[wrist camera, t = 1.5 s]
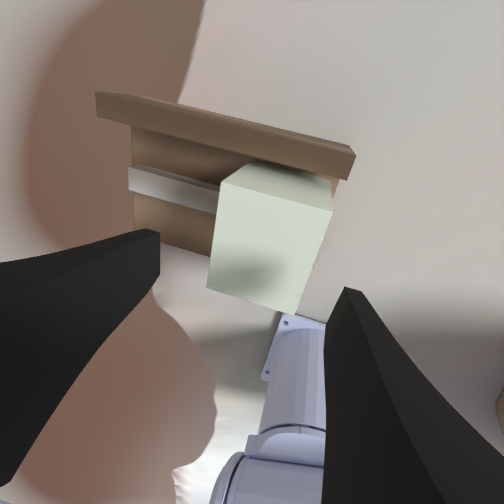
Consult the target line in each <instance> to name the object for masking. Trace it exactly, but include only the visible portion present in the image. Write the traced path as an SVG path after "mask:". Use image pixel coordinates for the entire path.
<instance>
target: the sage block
mask: <svg viewBox="0 0 504 504" xmlns="http://www.w3.org/2000/svg"><path fill="white" fill-rule="evenodd" d="M332 214H333V205H332V194H331V182H330V180H327V179H324V178H320V177H316V176H312V175H308V174H304V173H300V172H297V171H293V170H289V169H285V168H281V167H277V166H273V165H270V164H266V163H262V162H258V161H254V160H252V161H251V162H249V163H248V164H246V165H245V166H243V167H242V168H240V169H239V170H238V171H236V172H235V173H233V174H232V175H230V176H229V177H227V178H226V179H224V180H223V181H222V182H221V186H220V193H219V200H218V208H217V215H216V222H215V229H214V236H213V243H212V250H211V257H210V265H209V272H208V279H207V286H206V288H208V289H212V290H215V291H218V292H221V293H224V294H227V295H230V296H234V297H237V298H240V299H243V300H246V301H249V302H252V303H255V304H259V305H262V306H265V307H268V308H271V309H274V310H277V311H281V312H284V313H287V314H290V315H293V316H294V315H295V312H296V309H297V307H298V304H299V301H300V299H301V296H302V293H303V291H304V288H305V285H306V283H307V280H308V277H309V275H310V272H311V270H312V267H313V264H314V262H315V259H316V256H317V254H318V251H319V248H320V246H321V243H322V240H323V238H324V235H325V232H326V230H327V227H328V225H329V222H330V219H331V217H332Z"/></svg>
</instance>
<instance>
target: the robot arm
mask: <svg viewBox="0 0 504 504" xmlns="http://www.w3.org/2000/svg"><path fill="white" fill-rule="evenodd" d="M159 275H160V232H157V231H153V230H150V229H147V228H145V229H140V230H136V231H132V232H128V233H125V234H121V235H118V236H115V237H111V238H108V239H104V240H101V241H97V242H94V243H91V244H87V245H83V246H79V247H75V248H71V249H68V250H63V251H60V252H55V253H51V254H46V255H42V256H37V257H31V258H26V259H21V260H15V261H9V262H1V263H0V487H2V486H4V485H5V484H7V483H8V482H10V481H11V479H12V478H13V476H14V474H15V473H16V471H17V469H18V468H19V466H20V464H21V463H22V461H23V459H24V458H25V456H26V454H27V453H28V451H29V450H30V448H31V446H32V445H33V443H34V441H35V440H36V438H37V437H38V435H39V434H40V432H41V430H42V429H43V427H44V426H45V424H46V423H47V421H48V420H49V418H50V417H51V415H52V414H53V412H54V411H55V409H56V407H57V406H58V405H59V403H60V401H61V400H62V398H63V397H64V396H65V394H66V393H67V391H68V390H69V388H70V387H71V386H72V384H73V383H74V381H75V380H76V378H77V377H78V375H79V374H80V373H81V371H82V370H83V369H84V367H85V366H86V364H87V363H88V362H89V361H90V359H91V358H92V356H93V355H94V354H95V352H96V351H97V350H98V348H99V347H100V346H101V345H102V344H103V342H104V341H105V340H106V338H108V336H109V335H110V334H111V333H112V332H113V331H114V330H115V329H116V328H117V326H118V325H119V324H120V323H121V322H122V321H123V320H124V319H125V318H126V317H127V316H128V314H129V313H130V312H131V311H132V310H133V309H134V308H135V306H136V305H137V304H138V303H139V302H140V301H141V300H142V299H143V298H144V297H145V295H146V294H147V293H148V291H149V290H150V289H151V287H152V286H153V284H154V283H155V281H156V280H157V278H158V276H159ZM284 321H287V323H286V322H284ZM261 379H262V380H264V381H266V382H269V383H268V388H267V392H266V397H265V402H264V407H263V412H262V417H261V422H260V427H259V432H258V435H249V436H248V440H247V444H246V449H245V452H237V453H235V454H233V455H232V456H231V458H230V459H229V460H228V462H227V463H226V465H225V466H224V467H223V469H222V470H221V472H220V474H219V476H218V478H217V480H216V483H215V486H214V489H213V492H212V495H211V499H210V503H209V504H504V456H503V455H501V454H500V453H499V452H498V451H497V450H496V449H495V448H494V447H493V446H492V445H491V444H490V443H489V442H487V441H486V440H485V439H484V438H483V437H482V436H481V435H480V434H479V433H478V432H477V431H476V430H475V429H474V428H473V427H472V426H471V425H470V424H469V423H468V422H467V421H466V420H465V419H464V418H463V417H462V416H461V415H460V414H459V413H458V412H457V411H456V410H455V409H454V408H453V407H452V406H451V405H450V404H449V403H448V402H447V401H446V399H445V398H444V397H443V396H442V395H441V394H440V393H439V392H438V391H437V390H436V388H435V387H434V386H433V385H432V384H431V383H430V382H429V381H428V380H427V378H426V377H425V376H424V375H423V374H422V373H421V371H420V370H419V369H418V368H417V367H416V365H415V364H414V363H413V362H412V360H411V359H410V358H409V357H408V355H407V354H406V353H405V352H404V350H403V349H402V348H401V346H400V345H399V344H398V342H397V341H396V340H395V338H394V337H393V336H392V334H391V333H390V331H389V330H388V329H387V327H386V326H385V324H384V323H383V322H382V320H381V319H380V317H379V316H378V314H377V313H376V311H375V310H374V308H373V307H372V306H371V304H370V303H369V301H368V300H367V298H366V297H365V295H364V294H363V293H362V292H361V291H358V290H355V289H351V288H348V287H344V289H343V291H342V293H341V295H340V297H339V299H338V301H337V303H336V305H335V307H334V309H333V311H332V313H331V315H330V317H329V320H328V322H327V324H323V323H320V322H317V321H314V320H311V319H308V318H305V317H302V316H298V315H294V316H293V315H290V314H287V313H283V314H282V316H281V319H280V322H279V325H278V328H277V331H276V333H275V336H274V339H273V342H272V345H271V348H270V351H269V354H268V357H267V359H266V362H265V365H264V368H263V371H262V374H261ZM0 504H9V503H7V502H5V501H3V500H0Z"/></svg>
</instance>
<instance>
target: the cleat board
mask: <svg viewBox="0 0 504 504" xmlns="http://www.w3.org/2000/svg"><path fill="white" fill-rule="evenodd" d="M95 97H96V107H97V116H98V117H102V118H106V119H109V120H113V121H117V122H121V123H125V124H129V125H131V138H132V166H129V167H128V184H129V190H131V191H133V205H134V231H136V230H140V229H145V228H147V229H150V230H153V231H157V232H160V242H162V243H166V244H169V245H172V246H176V247H179V248H182V249H185V250H189V251H192V252H195V253H198V254H202V255H205V256H208V257H211V250H212V243H213V236H214V229H215V222H216V215H217V208H218V200H219V193H220V186H221V182H222V181H223V180H224V179H226V178H227V177H229V176H230V175H232V174H233V173H235V172H236V171H238V170H239V169H240V168H242V167H243V166H245V165H246V164H248V163H249V162H251V161H252V160H254V161H258V162H262V163H266V164H270V165H273V166H277V167H281V168H285V169H289V170H293V171H297V172H300V173H304V174H308V175H312V176H316V177H320V178H324V179H327V180H330V182H331V194H332V198H333V196H334V193H335V190H336V187H337V185H338V182H339V179H343V180H347V179H348V176H349V174H350V171H351V168H352V166H353V163H354V160H355V158H356V155H355V154H354V152H353V151H352V149H351V148H350V146H349V145H345V144H341V143H337V142H333V141H329V140H324V139H320V138H316V137H312V136H308V135H304V134H300V133H296V132H291V131H287V130H283V129H279V128H275V127H271V126H267V125H263V124H258V123H254V122H250V121H246V120H242V119H238V118H234V117H230V116H225V115H221V114H217V113H213V112H209V111H205V110H201V109H197V108H193V107H188V106H184V105H180V104H176V103H172V102H168V101H163V100H160V99H155V98H151V97H147V96H140V95H128V94H117V93H105V92H95Z"/></svg>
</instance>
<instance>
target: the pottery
mask: <svg viewBox="0 0 504 504" xmlns="http://www.w3.org/2000/svg"><path fill="white" fill-rule="evenodd" d="M496 408H497V413H498V418H499V423H500V428H501V429H502V431H503V433H504V390H503V393H502V395H501V397H500V399H499V401H498V403H497V405H496Z"/></svg>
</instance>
